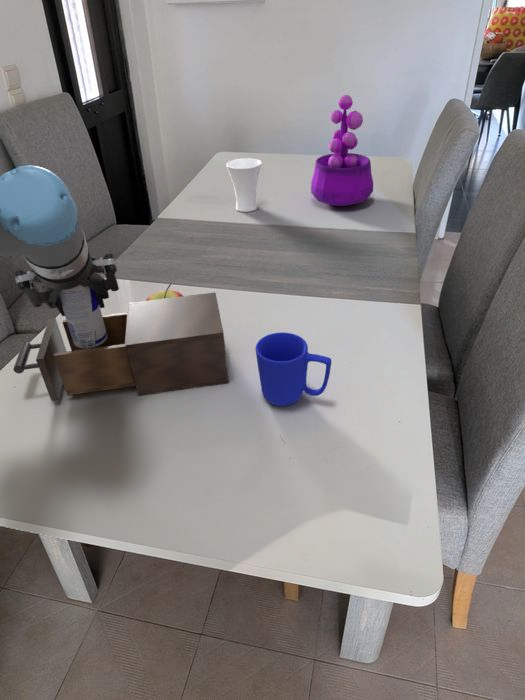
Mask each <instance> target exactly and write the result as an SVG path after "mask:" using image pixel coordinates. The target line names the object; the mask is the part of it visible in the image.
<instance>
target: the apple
mask: <svg viewBox="0 0 525 700" xmlns="http://www.w3.org/2000/svg"><path fill="white" fill-rule="evenodd" d="M171 286H172V283H169V285H168V286H167V287H166V289H165V290H162V291H158V292H154V293H152V294H150V295H149V296H148V297H147V298H146V299H145V301H149V300H157V299H165V298H173V297H181V296H184V295H183V294H182V293H180V292H178V291H176V290H172V289H171V290H170V287H171Z"/></svg>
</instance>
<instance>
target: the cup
mask: <svg viewBox="0 0 525 700" xmlns="http://www.w3.org/2000/svg"><path fill="white" fill-rule="evenodd" d="M225 166H226V169H227V171H228V174H229V177H230V179H231V182H232V184H233V185H232V186H233V189H234V194H235V209H236V211H238V212H242V213H249V212H253V211H256V210H257V209H258V202H257V188H258V187H257V186H258V180H259V175H260V172H261V169H262V168H261V167H262V160H260V159H258V158H251V157H245V158H244V157H242V158H236V159H232V160H229V161H227V162H226V163H225Z"/></svg>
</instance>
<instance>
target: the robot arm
mask: <svg viewBox="0 0 525 700" xmlns="http://www.w3.org/2000/svg"><path fill="white" fill-rule="evenodd" d="M21 256H22V257H23V258H24V259H25V261H26V262H27V264H28V266H29V267H30V268H31V271H24V270H22V269H18V270H15V271H14V273H13V274H14V279H15V283H16V288H17V290H18V291H20V292H22V293H24V294H25V295H26V296H27V298H28V300H29V301H30V303H31V305H32V306H33V307H34V308H39V307H42V306H43V304H46V306H48V307H49V308H50V309H57V310H58V312H59V313H60V315H61V317H65V314H64V311H63V308H62V304H61V301H60V298H59V295H58V294H59V292H61V290H67V289H72V288H75V287H77V286H79V285H81V286H83V287H89V288H91V289H92V290H94V291H95V293H96V297H97V300H98V302H99V306H100V309H105V308H106V307H105V306H106V305H105V302H104V300H107V299H109V298H110V294H109V291H111V292H117V291H119V290H120V287H119V283H118V280H117V275H116V272H117V271H118V270H117V265H116V260H115V257H114V253H106V254H104V256H103V257H100V258H99V259H96V258H95V256H93V255H92V254H91V253H90V249H89V246H88V242H87V239H86V236H85V232H84V230H83V228H82V225H81V220H80V216H79V211H78V206H77V204H76V203H75V200H74V197H72V195H71V193H70V190H69V188H68V187H67V185H66V184H65V183H64V181H63V180H62V179H61V178H60V177H59V176H58V175H57V174H55V173H54V172H53V171H51V170H48V169H46V168H44V167H40V166H36V165H20V166H17V167H16V168H13V169H11V170H9V171H7V172H4V173H3V174H2V175H1V176H0V257H21ZM98 270H99V271H101V272H102V274H103V275H104V276H105V278H104V277H103V276H102V275H100V274H99V273H98V272H97V271H98ZM36 283H39V284H42V291H40V290H39V288H38V286H37V284H36ZM43 284H44V285H43Z"/></svg>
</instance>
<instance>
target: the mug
mask: <svg viewBox="0 0 525 700" xmlns="http://www.w3.org/2000/svg"><path fill="white" fill-rule="evenodd" d="M254 349H255V356H256V362H257V363H256V364H257V369H258V376H259V381H260V388H261V393H262V396H263V397H264V399H265V400H266V401H267V402H268V403H270V404H272V405H275V406H280V407H286V406H290V405H293V404H295V403H297V402H298V401H299V400H301V398H302V395H303V393H305V394H307V395H309V396H312V397H316V396H317V397H318V396H320V395H322V394H323V393H324V392H325V390H326V388H327V386H328V383H329V379H330V376H331V375H330V374H331V369H332V368H331V367H332V358H330V357H328V356H325V355H321V354H315V353H309V346H308V343H307V341H306V340H305V339H304V338H303V337H301V336H300V335H298V334H295V333H291V332H273V333H270V334H267V335H265V336H263V337H262V338H260V339H259V340H258V341H257V342H256V344H255V348H254ZM310 362H315V363H316V362H317V363H321V364H324V365H325V372H324V379H323V382H322V385H321V386H320V387H319V388H315V389H313V388H310V387H309V386H307V377H308V365H309V363H310Z"/></svg>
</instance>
